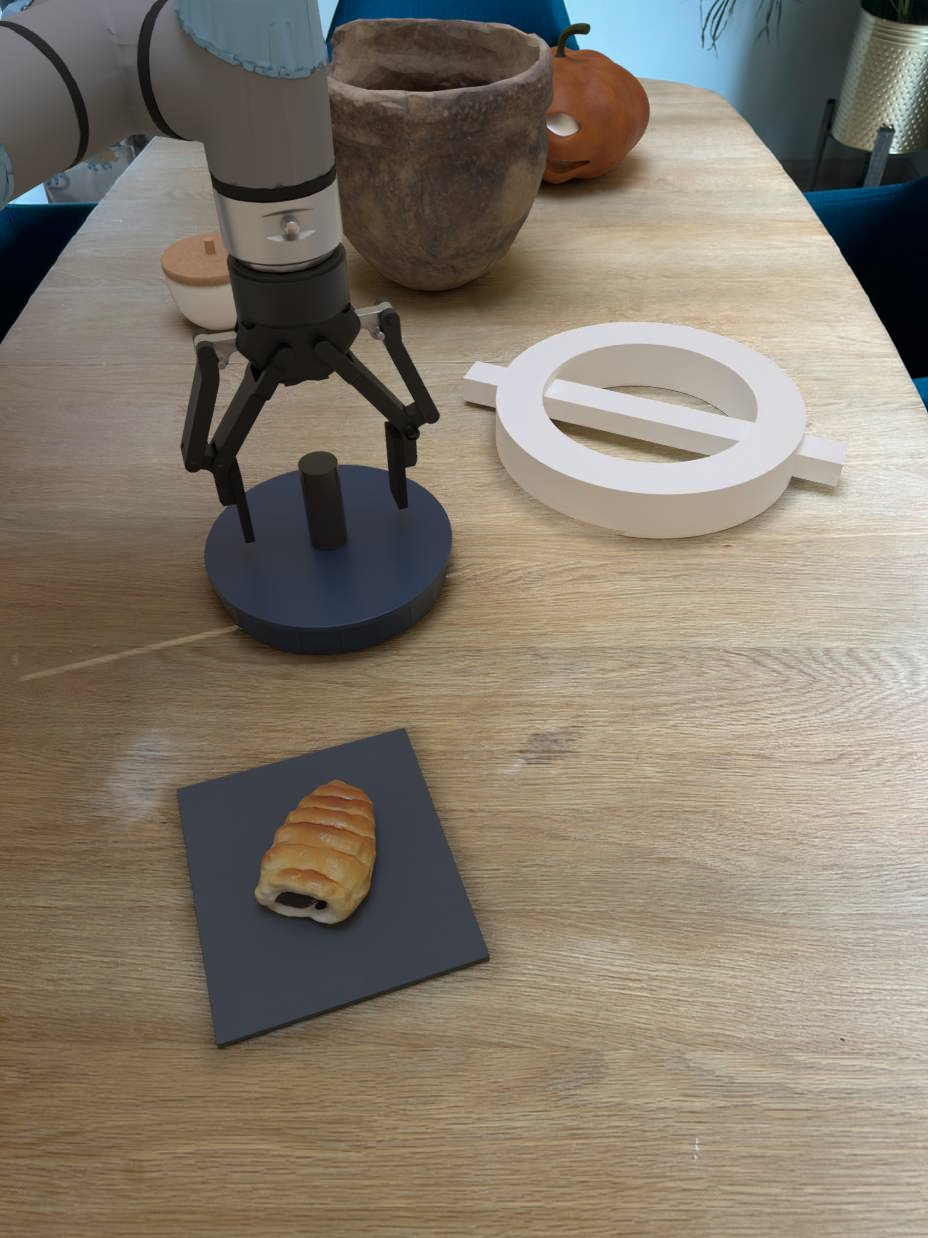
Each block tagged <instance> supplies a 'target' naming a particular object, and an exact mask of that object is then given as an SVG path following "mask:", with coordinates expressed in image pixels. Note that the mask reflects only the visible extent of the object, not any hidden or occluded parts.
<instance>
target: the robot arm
mask: <svg viewBox="0 0 928 1238" xmlns="http://www.w3.org/2000/svg"><path fill="white" fill-rule="evenodd" d="M321 20H322V19H321V13H320V7H319V1H318V0H10V2H9V3H8V4H7V5H6V6H5V8H4V9H3V11H2V13H1V17H0V212H1V211H2V210H4V209H5V207H6V206H7V205H8V204H9V203H12V202H13V201H15V200H17V199H18V198H20V197H22V196H24V195H25V194H27V193H29V192H30V191H32V190H33V189H35V188H36V187H38V186H40V185H42V184H44V183H45V182H47V181H49V180H50V179H51V178H54V177H55V176H57V175H58V174H61V173H64V172H66V171H67V170H70V169H72V168H74V167H76V166H78V165H80V164H82V163H83V162H85V161H87V160H89V159H90V158H92V157H94V156H95V155H97V154H99V153H102V152H103V151H105V150H107V149H109V148H110V147H112V146H114V145H115V144H117V143H119V142H121V141H123V140H125V139H126V138H128V137H131V136H135V135H147V136H153V137H159V138H165V139H171V140H178V141H185V142H198V143H201V144H203V150H204V154H205V160H206V163H207V168H208V169H207V170H208V172H209V176H210V180H211V188H212V189H211V190H212V193H213V199H214V204H215V208H216V209H215V210H216V214H217V219H218V220H217V221H218V225H219V226H218V227H219V231H220V233H221V236H222V241H223V245H224V247H225V250H226V251H227V252H229V254H228V256H227V266H228V272H229V277H230V282H231V287H232V293H233V298H234V303H235V308H236V313H237V320H236V324H235V327H234V328H232V331H225V332H219V333H218V332H217V333H212V334H211V333H210V331H208V329H205V328H202V327H200V328H197V329H195V330H194V331H193V332H192V335H191V338H192V339H191V340H192V344H193V348H194V349H193V350H194V353H195V359H196V363H195V368H194V373H193V378H192V383H191V388H190V394H189V399H188V404H187V408H186V413H185V418H184V419H185V420H184V425H183V431H182V434H181V440H180V441H181V442H180V446H179V448H180V453H181V457H182V462H183V465H184V469H185V470H186V472H188V473H192V474H193V473H195V474H196V473H198V472H200V471H207V472H209V473H211V474H212V476H213V480H214V484H215V489H216V492H217V496H218V497H217V498H218V500H219V504H221V506H222V507H225V508H226V507H227V506H230V505H235V504H236V507H237V511H238V515H239V520H240V524H241V528H242V531H243V535H244V539H245V542H246V543H251V542H256V541H255V536H254V531H253V527H252V522H251V518H250V513H249V508H248V504H247V499H246V494H245V492H246V491H245V485H244V481H243V478H242V473H241V469H240V464H239V462H238V459H237V455H238V453H239V452H240V450H241V449H242V446H243V444H244V442H245V441H246V439H247V437H248V435H249V433H250V432H251V430H252V428H253V426H254V424H255V422H256V420H257V419H258V417H259V415H260V413H261V411H262V409H263V407H264V406H265V404H266V403H267V402H268V401H270V400H272V397H273V396H274V394H275V392H276V391H277V388H278V387H279V385H283V386H284V387H285V388H289V387H293V386H294V387H295V386H298V385H299V384H301V383H304V382H307V381H312V382H313V381H314V382H315V381H316V382H320V381H324V380H329V379H330V375H332V374H334V373H336V374H337V375H338V376H339V378H341V379H342V380H343V381H344V382H345V383H347V385H349V386H351V387H353V388H354V389H355V390H356V391H357V392H358V393H359V394H360V395H361V396H362V397H363V398H364V399H365V400H366V401H368V403H370V404H371V405H372V406H373V408H375V409H376V410H377V411H378V412H379V413H380V414H381V415H382V416H383V417H384V418H385V419H386V420H387V421H384V422H383V425H384V434H385V435H384V436H385V437H384V438H385V447H386V449H385V450H386V460H387V471H388V473H389V485H390V491H391V493H392V495H393V498H394V500H395V502H396V504H397V506H398V509H399V510H401V509H405V508H408V498H407V483H406V478H407V472H406V469H407V468H412V467H416V465H417V462H418V447H417V446H418V445H417V440H419V438H420V437H421V431H420V427H422V426H424V425H426V424H428V425H433V424H436V423H437V422H439V420H440V418H441V414H440V411H439V410H438V408H437V406H436V404H435V402H434V400H433V398H432V396H431V394H430V392H429V390H428V389H427V387H426V385H425V382H424V381H423V379H422V377H421V375H420V373H419V372H418V369H417V367H416V365H415V363H414V362H413V360H412V358H411V355H410V354H409V351H408V350H407V348H406V347H405V345H404V342H403V337H402V325H401V324H402V323H401V318H400V316H399V314H398V312H397V310H396V308H395V307H394V305H393V304H392V301H391V300H390V298H388V297H387V296H379V297H378V298H376V299H375V300H374V303H373V305H371V306H366V307H361V308H356V309H355V308H354V306H353V305H352V300H351V290H350V281H349V271H348V263H347V262H348V261H347V253H346V248H345V246H344V244H343V243H342V240H343V238H344V232H343V223H342V214H341V206H340V197H339V189H338V180H337V172H336V163H335V156H334V149H333V138H332V126H331V115H330V103H329V92H328V80H327V66H326V65H327V63H326V59H329V52H328V45H327V42H326V39H325V36H324V33H323V27H322V21H321ZM363 329H364V330H366V331H368V333H369V335H370V337H371V338H372V339H374V340H379V341H381V342H382V344H383V346H384V347H385V349H386V352H387V353H388V355H389V357H390V359H391V360H392V362H393V365H394V367H395V368H396V370H397V372H398V373H399V375H400V378H401V380H402V381H403V383H404V385H405V387H406V388H407V391H408V392H409V394H410V396H411V398H412V400H413V402H411V403H409V404H407V405H406V404H405V403H403V401H401V400H400V398H398V397H397V396H396V395H395V394H394V393H393V392H392V390H390V389H389V387H387V386H386V385H385V384H384V383H383V382H382V381H381V380H380V379H379V378H378V377H377V376H376V375H375V374H374V373H373V372H372V371H371V370H370V369H369V368H368V367H367V366H366V365H365V364H364V363H363V362H362V361H361V360H360V359H359V358H358V357H357V356H356V355H355V353H354V352H353V351H352V349H351V347H352V345H353V344H354V343H355V341H356V339H357V337H358V335H359V333H360V332H361V330H363ZM236 352H238V353H239V354H240V356H242V357H244V359H246V360H247V361H248V362H247V364H246V366H245V369H244V375H243V378H242V380H241V382H240V384H239V386H238V388H237V389H236V391H235V393H234V396H233V397H232V400H231V401H230V403H229V405H228V407H227V409H226V411H225V413H224V415H223V416H222V418H221V420H220V422H219V424H218V425H217V428H216V429H215V431H214V434H213V435H212V438H211V439H210V442H209V435H210V430H211V426H212V421H213V418H214V417H213V416H214V412H215V407H216V404H217V403H216V402H217V398H218V393H219V389H220V375H221V374H220V371H222V370H225V369H226V367H227V366H228V364H229V362H230V357H231V356H232V354H233V353H236Z"/></svg>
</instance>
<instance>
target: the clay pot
mask: <svg viewBox="0 0 928 1238" xmlns="http://www.w3.org/2000/svg"><path fill="white" fill-rule="evenodd" d="M329 44H330V45H331V47H332V51H331V54H330V55H331V62H330V60H329V58H328V59H326V63H327V65H326V66H327V80H328V92H329V103H330V115H331V126H332V138H333V149H334V156H335V163H336V172H337V180H338V189H339V197H340V206H341V214H342V223H343V232H344V234H343V236H345V237H346V239H347V240H348V242H349V243H350V244H351V245H352V247H353V248H354V249H355V250H356V252H357V253H359V254H360V256H361V257H362V258H363V259H364V260H365V261H366V262H367V263H368V264H369V265H370V266H371V267H372V268H373V269H374V270H375V271H377V272H378V273H379V274H380V275H381V276H383V277H385V278H386V279H388V280H390V281H392V282H395V283H396V284H398V285H401V286H403V287H405V288H408V289H410V290H414V291H421V292H422V291H423V292H437V291H438V292H439V291H447V290H451V289H457V288H460V287H462V286H464V285H466V284H468V283H470V282H472V281H474V280H477V279H479V278H480V277H482V276H483V275H484V274H486V273H487V272H489V271H490V270H491V269H492V268H494V266H496V265H497V264H498V263H499V262H500V261H502V259H503V258H504V257H505V256H506V254H507V253H508V252H509V250H510V249H511V247H512V245H513V243H514V242H515V240H516V238H517V236H518V234H519V233H520V231H521V229H522V227H523V226H524V224H525V222H526V221H527V218H528V217H529V215H530V212H531V210H532V208H533V205H534V203H535V200H536V197H537V195H538V193H539V189H540V187H541V184H542V180H543V179H542V176H543V173H544V170H545V168H546V159H547V155H548V129H547V123H546V117H545V116H546V111H547V110H548V108H549V107H550V105H551V104H552V102H553V94H554V92H553V84H552V81H553V74H554V72H553V64H552V56H551V50H550V48H551V47H550V46H549V44H548V43H547V42H546V41H545V39H543V38H542V37H540V36H539V35H538V34H536V33H535V32H532V33H526V32H524V31H522V30H520V29H518V28H516V27H514V26H512V25H510V24H508V23H507V24H506V23H500V22H483V21H475V20H465V19H437V18H415V17H406V18H405V17H404V18H395V17H385V18H357V19H355V20H352V21H349V22H347V23H344V24H341V25H339V26H336V27H335V29H334V31H333V34H332V36H331V38H330V42H329Z"/></svg>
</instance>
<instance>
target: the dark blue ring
mask: <svg viewBox="0 0 928 1238" xmlns="http://www.w3.org/2000/svg"><path fill="white" fill-rule="evenodd" d="M446 575H447V574H446V570H445V571H444V572H443V574H442V575H441V577H440V578H439V580H438V581H437V582H436V584H435V585H434V586H433V587H432V588H431V589H430V590H429V591H428V592H427V593H426V594H425V595H424V596H423V597H421V598H420V599H419V600H418V601H416V602H415V603H413V604H412V605H411V606H409V607H408V608H406V609H404V610H402V611H400V612H399V613H397V614H395V615H393V616H391V617H388V618H386V619H383V620H381V621H378V622H376V623H372V624H369V625H365V626H362V627H358V628H353V629H348V630H343V631H333V632H298V631H289V630H284V629H278V628H274V627H271V626H267V625H264V624H261V623H258V622H256V621H254V620H251V619H249V618H247V617H245V616H243V615H242V614H240V613H238V612H237V611H235V610H234V609H233V608H231V607H230V606H229V605H228V604H227V603H225V602H224V601H223V600H222V598H221V597H220V600H221V604H222V606H223V608H224V609H225V610H226V611H227V613H228V614H229V615H230V616H231V617H232V619H233V620H234V621H235V622H236V624H235V625H236V626H237V628H239V629H240V630H241V631H243V633H245V634H246V635H248V636H249V637H251V638H253V639H254V640H256V641H257V642H259V643H262V644H264V645H266V646H269V647H271V648H275V649H278V650H282V651H284V652H289V653H295V654H300V655H302V654H303V655H313V656H318V655H319V656H321V655H322V656H323V655H324V656H326V655H327V656H331V655H339V654H341V655H342V654H348V653H353V652H358V651H362V650H365V649H369V648H372V647H376V646H378V645H381V644H383V643H386V642H388V641H390V640H393V639H394V638H396V637H397V636H399V635H401V634H403V633H405V632H406V631H408V630H409V629H411V628H412V627H414V626H415V625H416V624H417V623H419V622H420V621H421V620H422V619H423V618H424V617H425V616H426V615H427V614H428V612H429V611H430V610H431V609H432V608H433V607H434V605H435V603H436V602H437V600H438V599H439V597H440V596H441V595H440V594H441V592H442V591H443V587H444V584H445V581H446Z"/></svg>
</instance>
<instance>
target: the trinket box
mask: <svg viewBox="0 0 928 1238" xmlns="http://www.w3.org/2000/svg"><path fill="white" fill-rule="evenodd" d="M228 254H229V252H227V251H226V250H225V247H224V245H223V241H222V236H221V232H210V233H201V234H197V235H192V236H189V237H186V238H183V239H181V240H179V241H176V242H174V243H172V244H171V245H170V246H169V247H167V248H166V249H165V250H164V251H163V253H162V255H161V258H160V266H161V270H162V272H163V274H164V277H165V280H166V284H167V288H168V291H169V293H170V295H171V298H172V300H173V302H174V304H175V306H176V307H177V309H178V310H179V312H180V313H181V314H182V315H183V316H184V317H185V318H186V319H187V320H188V321H190V322H191V323H193V324H195V325H196V326H198V327H200V328H203V329H206V330H211V331H226V330H233V329H234V327H235V324H236V320H237V313H236V308H235V303H234V298H233V293H232V287H231V282H230V277H229V272H228V266H227V256H228Z"/></svg>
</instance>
